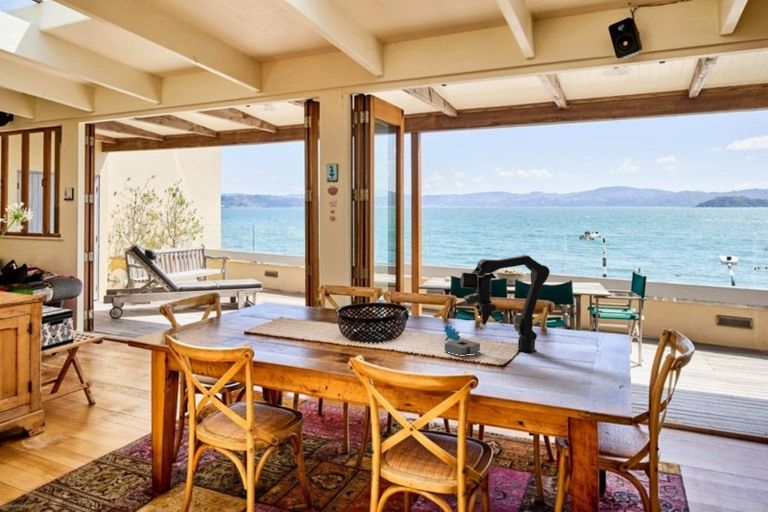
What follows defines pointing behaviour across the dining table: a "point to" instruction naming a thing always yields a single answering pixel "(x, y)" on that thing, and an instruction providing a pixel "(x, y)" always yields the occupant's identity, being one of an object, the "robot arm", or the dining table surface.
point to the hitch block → (462, 347)
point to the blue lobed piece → (451, 333)
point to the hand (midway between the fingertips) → (482, 323)
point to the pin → (481, 323)
